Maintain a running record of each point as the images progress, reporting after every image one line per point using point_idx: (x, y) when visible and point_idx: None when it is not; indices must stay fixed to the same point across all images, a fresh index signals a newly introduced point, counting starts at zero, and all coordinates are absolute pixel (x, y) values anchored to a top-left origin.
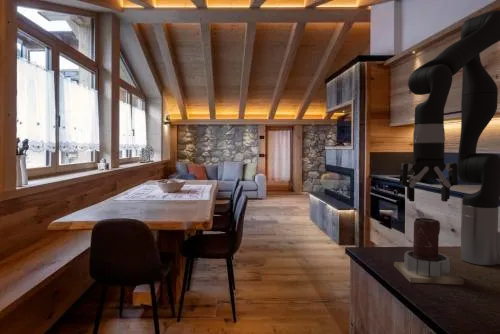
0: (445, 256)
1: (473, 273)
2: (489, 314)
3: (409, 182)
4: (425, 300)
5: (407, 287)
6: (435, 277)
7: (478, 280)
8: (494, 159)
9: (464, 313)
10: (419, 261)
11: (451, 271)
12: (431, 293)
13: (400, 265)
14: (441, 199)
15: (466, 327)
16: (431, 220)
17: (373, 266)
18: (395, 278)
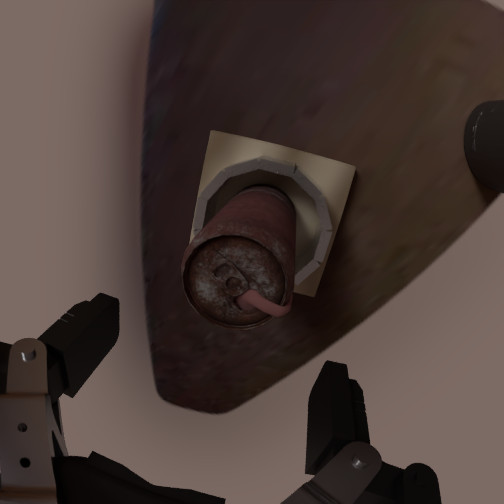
0: (320, 247)
1: (407, 228)
2: (248, 393)
3: (22, 377)
4: (174, 338)
5: (169, 281)
6: None
7: (374, 274)
8: None
9: (211, 384)
10: None
11: (333, 239)
12: None
13: (211, 166)
14: (325, 365)
15: (187, 406)
16: (275, 271)
17: (152, 129)
18: (167, 227)
